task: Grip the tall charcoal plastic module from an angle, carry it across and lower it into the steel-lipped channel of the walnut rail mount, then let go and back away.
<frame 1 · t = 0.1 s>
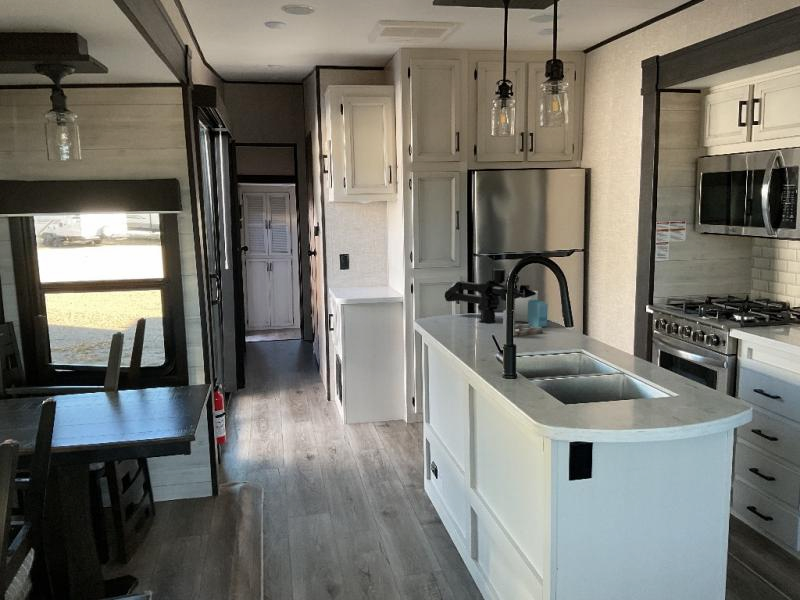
hand: (529, 294, 312), 17 cm above the counter, tool horizontal, fingers open, 9 cm apart
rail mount: (524, 332, 307), on the counter
module: (508, 335, 299), on the counter
supplement box: (525, 320, 338), on the counter
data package: (536, 325, 325), on the counter
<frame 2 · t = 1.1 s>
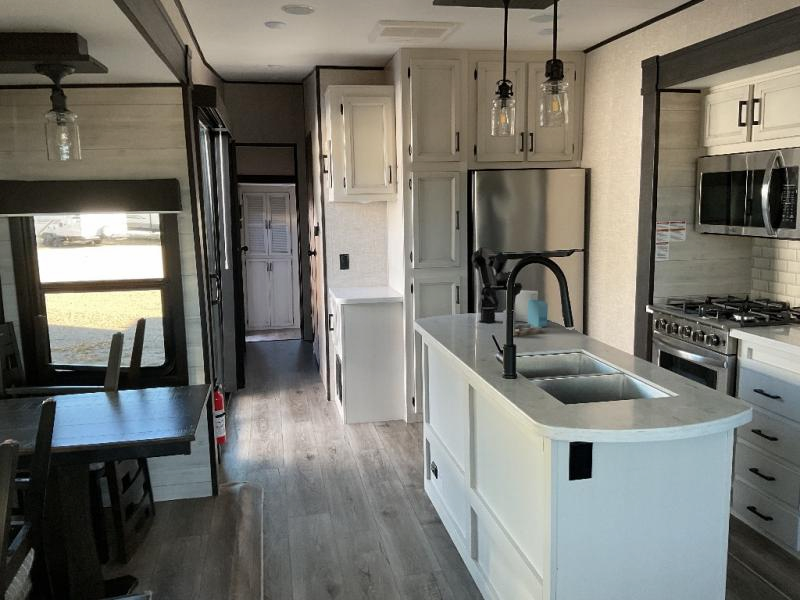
hand: (504, 303, 305), 14 cm above the counter, tool tilted 45°, fingers open, 9 cm apart
nothing on the counter moved.
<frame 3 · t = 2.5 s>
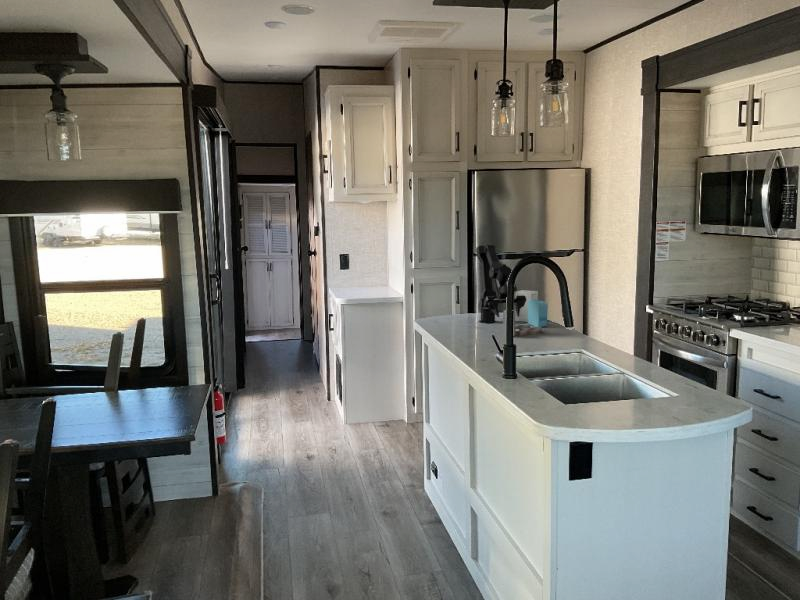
hand: (508, 316, 299), 9 cm above the counter, tool tilted 45°, fingers open, 9 cm apart
nothing on the counter moved.
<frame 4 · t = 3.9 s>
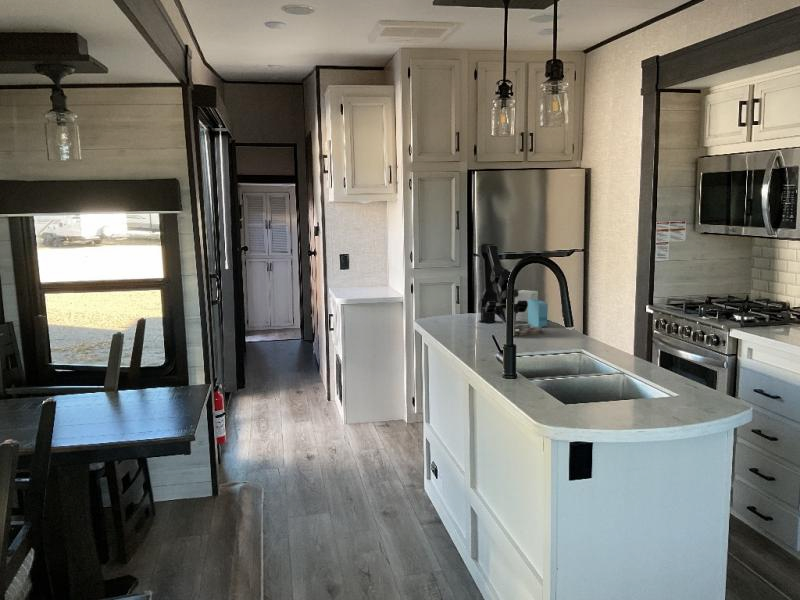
hand: (510, 321, 297), 7 cm above the counter, tool tilted 45°, fingers closed on module, 4 cm apart
module: (508, 335, 299), on the counter, touching gripper
everything else where it was.
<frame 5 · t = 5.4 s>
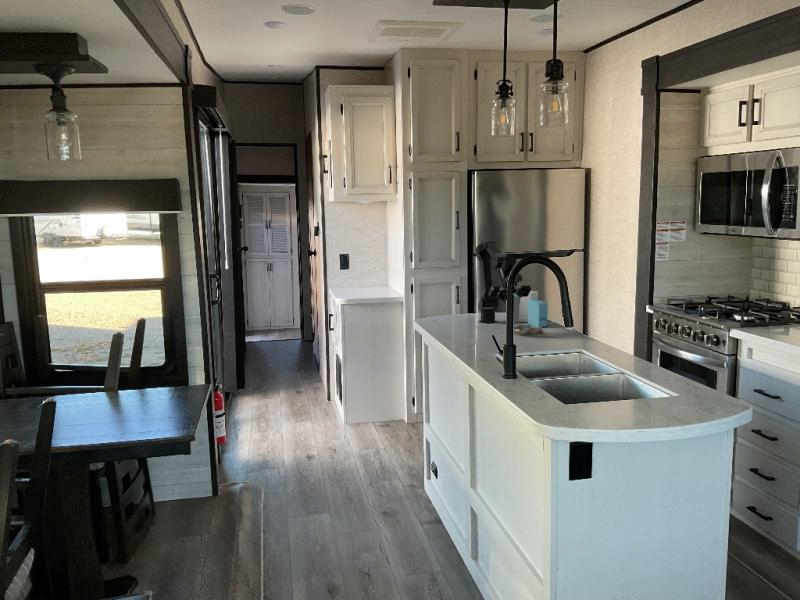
hand: (514, 306, 297), 13 cm above the counter, tool tilted 45°, fingers closed on module, 4 cm apart
module: (512, 320, 300), point 7 cm above the counter, touching gripper
everything else where it was.
when the fingers open (9 cm above the counter, at t = 7.2 s): module stays where it is, resting on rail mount.
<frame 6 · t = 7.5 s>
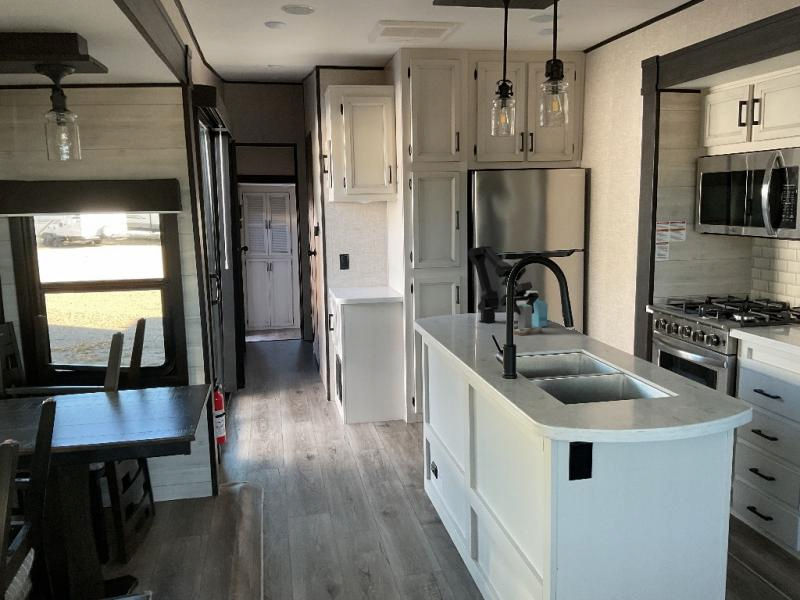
hand: (526, 313, 304), 9 cm above the counter, tool tilted 45°, fingers open, 7 cm apart
module: (524, 329, 307), point 1 cm above the counter, touching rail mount
everything else where it was.
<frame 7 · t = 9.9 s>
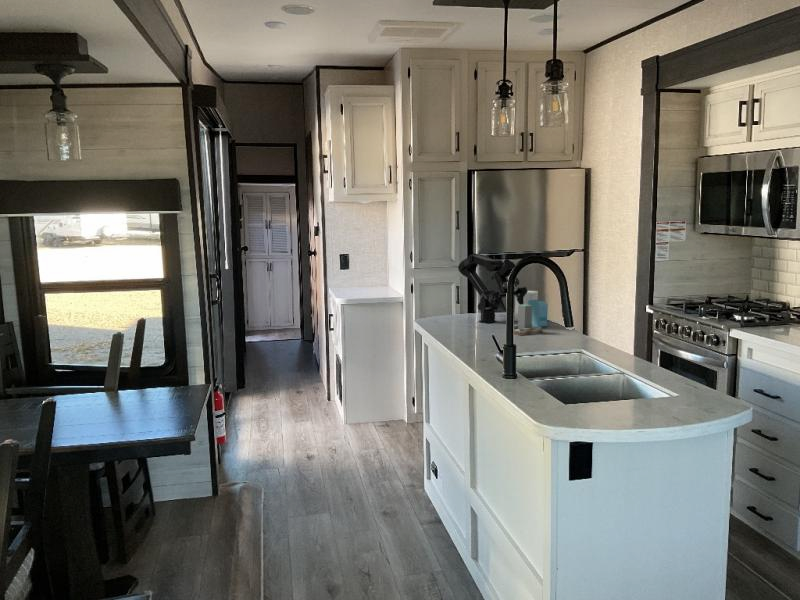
hand: (514, 309, 313), 9 cm above the counter, tool tilted 40°, fingers open, 9 cm apart
nothing on the counter moved.
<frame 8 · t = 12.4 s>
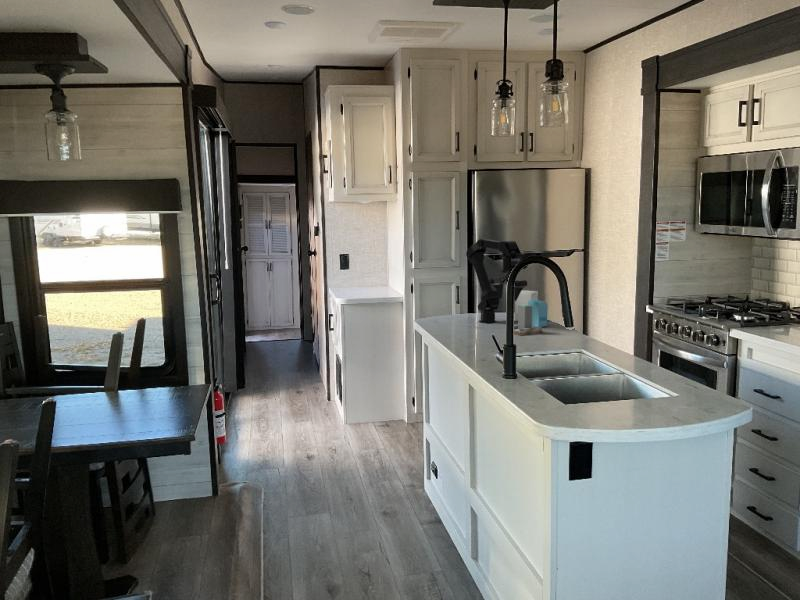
hand: (507, 299, 320), 13 cm above the counter, tool pointing down, fingers open, 9 cm apart
nothing on the counter moved.
at the end: module 0.0 cm off-centre on the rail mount, point 1.4 cm above the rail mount's base; module tilted 0°; the gripper is holding nothing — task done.
